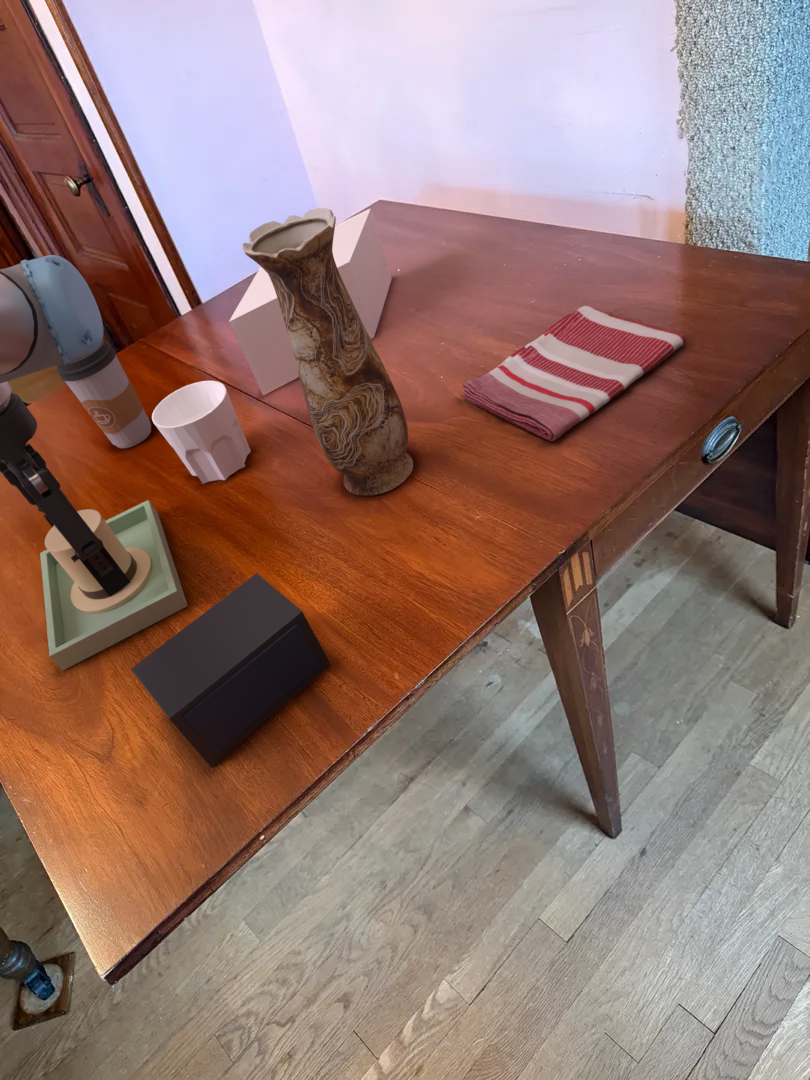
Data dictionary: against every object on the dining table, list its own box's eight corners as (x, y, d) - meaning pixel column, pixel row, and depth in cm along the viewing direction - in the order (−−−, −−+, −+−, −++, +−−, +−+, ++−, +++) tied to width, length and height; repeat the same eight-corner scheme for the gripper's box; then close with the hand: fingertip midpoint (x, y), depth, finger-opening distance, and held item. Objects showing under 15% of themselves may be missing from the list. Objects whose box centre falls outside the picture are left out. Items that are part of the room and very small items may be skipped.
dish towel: (461, 401, 97) (456, 384, 95) (587, 315, 104) (585, 298, 102) (554, 447, 85) (551, 428, 83) (689, 347, 92) (689, 327, 90)
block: (224, 389, 117) (188, 317, 108) (353, 277, 134) (330, 209, 126) (305, 403, 107) (272, 326, 99) (433, 281, 125) (414, 206, 116)
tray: (187, 606, 82) (176, 590, 81) (63, 670, 80) (49, 656, 78) (158, 514, 97) (148, 499, 95) (51, 566, 94) (39, 552, 93)
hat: (135, 609, 83) (94, 556, 78) (59, 618, 86) (14, 567, 80) (163, 545, 90) (127, 493, 85) (92, 556, 93) (53, 505, 87)
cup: (269, 455, 100) (239, 393, 93) (207, 497, 96) (172, 436, 90) (234, 432, 106) (204, 373, 100) (175, 471, 103) (140, 412, 96)
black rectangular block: (212, 769, 66) (170, 720, 61) (172, 717, 71) (130, 668, 66) (333, 666, 71) (303, 612, 65) (287, 625, 76) (256, 572, 71)
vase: (343, 511, 87) (238, 268, 67) (331, 460, 95) (235, 230, 75) (427, 481, 87) (347, 229, 67) (409, 433, 95) (332, 195, 75)
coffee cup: (97, 455, 112) (39, 370, 102) (124, 421, 118) (71, 337, 108) (143, 451, 109) (88, 363, 99) (168, 417, 115) (118, 330, 105)
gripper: (51, 423, 65) (170, 590, 80) (-16, 363, 80) (95, 513, 95) (-28, 472, 63) (109, 635, 78) (-82, 399, 78) (42, 548, 93)
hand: (101, 568), depth 86 cm, fingers open, 10 cm apart
